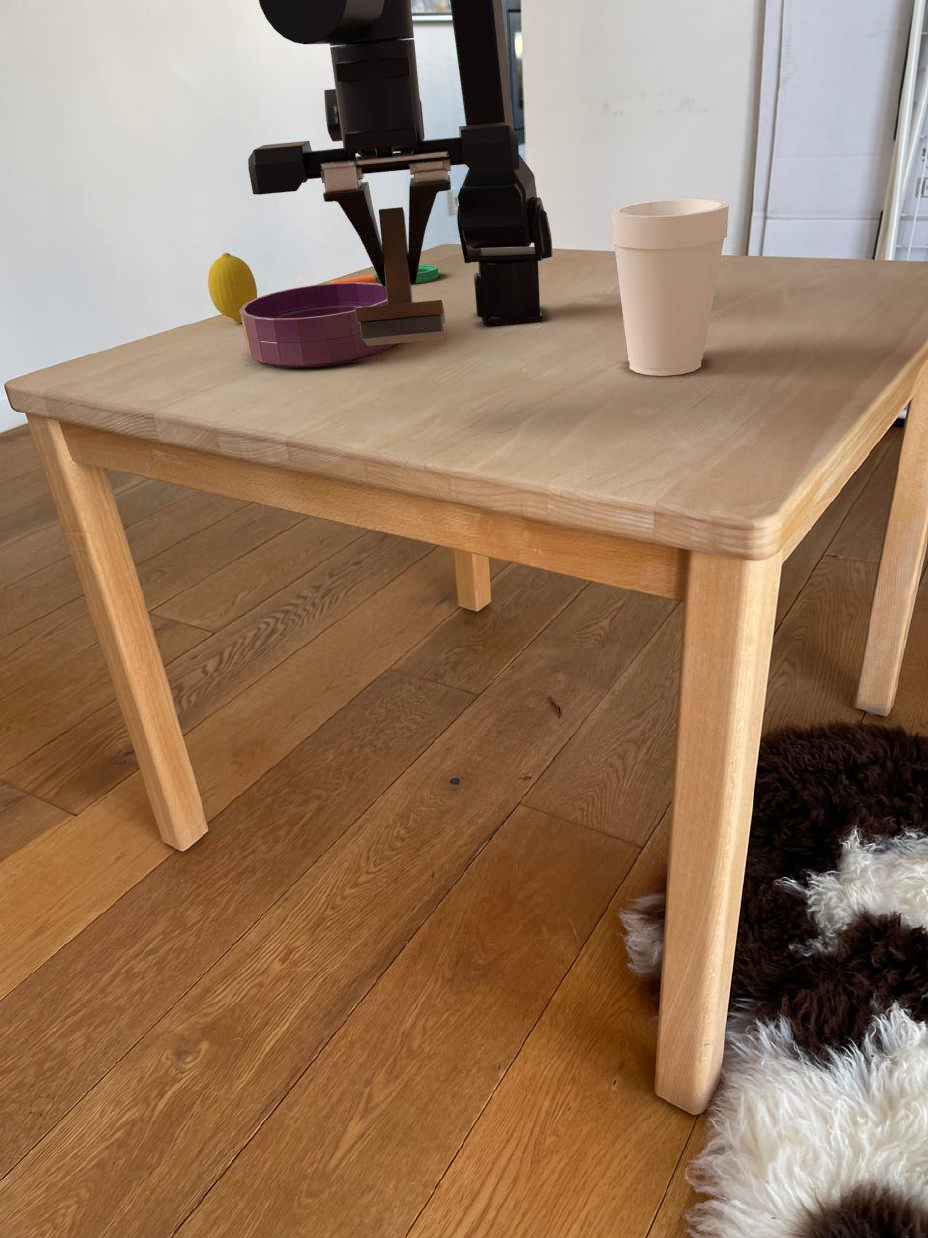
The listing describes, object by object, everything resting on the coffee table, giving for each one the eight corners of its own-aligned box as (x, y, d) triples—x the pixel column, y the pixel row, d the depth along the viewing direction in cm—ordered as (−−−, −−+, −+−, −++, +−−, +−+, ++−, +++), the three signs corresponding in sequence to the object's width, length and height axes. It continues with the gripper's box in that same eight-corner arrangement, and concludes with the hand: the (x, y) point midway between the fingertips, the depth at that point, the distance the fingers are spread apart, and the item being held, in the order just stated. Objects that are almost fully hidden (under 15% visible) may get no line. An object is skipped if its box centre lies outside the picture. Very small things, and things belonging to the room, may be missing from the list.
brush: (446, 339, 72) (435, 215, 71) (444, 330, 68) (433, 198, 66) (365, 346, 72) (352, 223, 71) (358, 338, 68) (344, 206, 66)
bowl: (403, 323, 104) (398, 276, 102) (400, 362, 90) (393, 309, 88) (262, 336, 104) (253, 290, 102) (238, 377, 91) (227, 325, 88)
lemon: (252, 327, 108) (237, 255, 104) (208, 329, 110) (193, 258, 105) (269, 316, 113) (256, 246, 109) (228, 317, 114) (213, 249, 110)
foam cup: (654, 388, 77) (657, 220, 70) (591, 364, 84) (589, 211, 78) (742, 365, 80) (753, 203, 74) (674, 344, 88) (679, 195, 81)
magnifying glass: (426, 272, 128) (425, 259, 128) (446, 277, 124) (445, 264, 123) (325, 291, 123) (323, 278, 122) (341, 298, 118) (339, 284, 117)
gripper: (502, 33, 69) (513, 254, 77) (254, 57, 69) (291, 275, 77) (513, 28, 59) (525, 280, 67) (226, 56, 60) (271, 304, 68)
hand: (399, 284), depth 70 cm, fingers closed on brush, 2 cm apart
